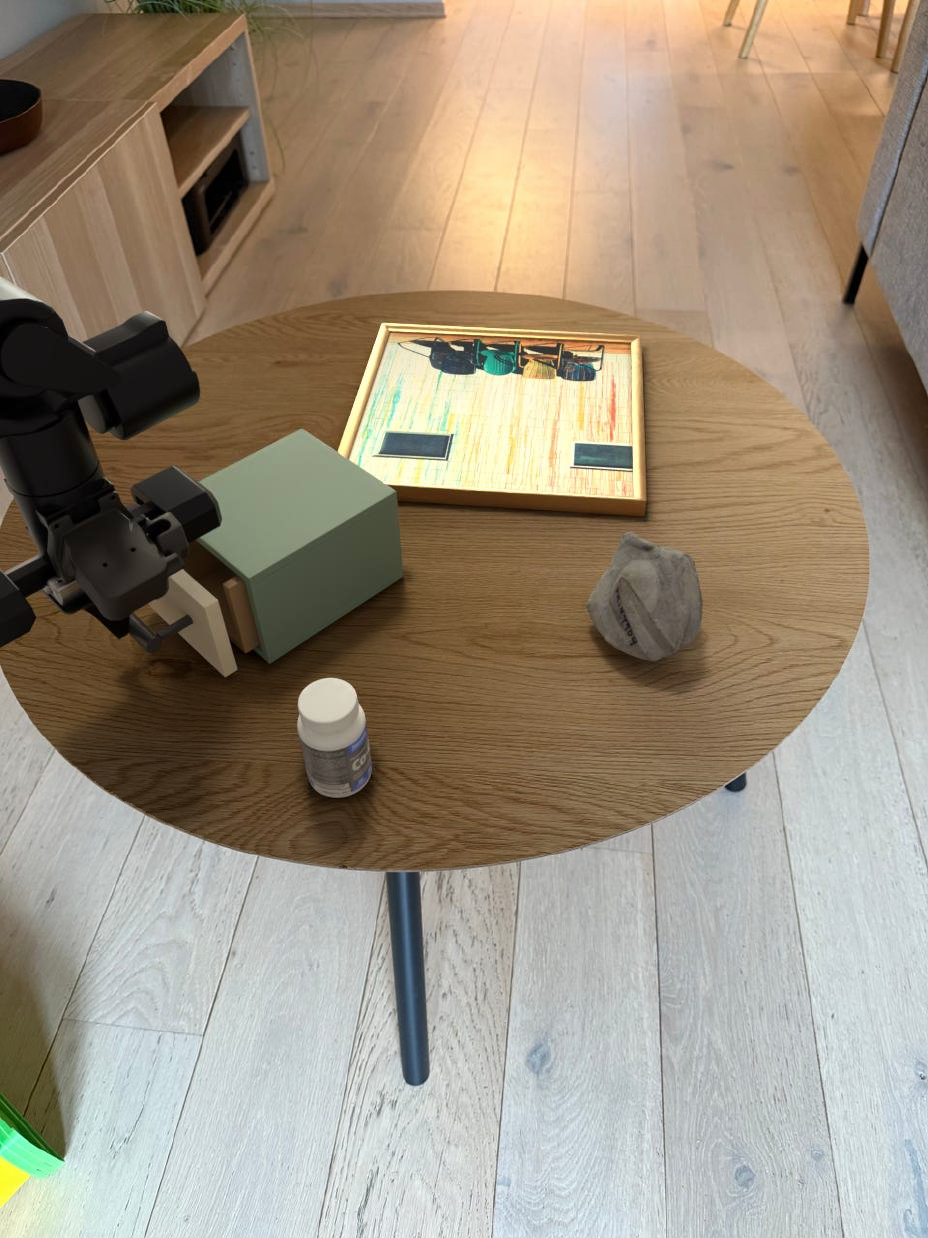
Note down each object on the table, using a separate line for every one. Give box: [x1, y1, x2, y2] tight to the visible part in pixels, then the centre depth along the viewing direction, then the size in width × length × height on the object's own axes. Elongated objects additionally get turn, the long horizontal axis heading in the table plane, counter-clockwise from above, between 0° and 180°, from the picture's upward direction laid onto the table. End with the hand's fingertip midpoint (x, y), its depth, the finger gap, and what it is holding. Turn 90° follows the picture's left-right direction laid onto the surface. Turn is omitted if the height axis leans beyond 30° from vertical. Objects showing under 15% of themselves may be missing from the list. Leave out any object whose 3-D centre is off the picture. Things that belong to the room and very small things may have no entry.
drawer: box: [128, 540, 260, 678], centre depth 77 cm, size 18×11×8 cm, turn 134°
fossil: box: [586, 531, 704, 662], centre depth 76 cm, size 11×9×8 cm
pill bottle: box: [296, 677, 373, 799], centre depth 66 cm, size 5×5×8 cm
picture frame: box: [337, 322, 648, 517], centre depth 100 cm, size 30×2×30 cm
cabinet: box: [196, 428, 404, 665], centre depth 80 cm, size 15×13×10 cm
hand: (120, 634), depth 72 cm, fingers closed
